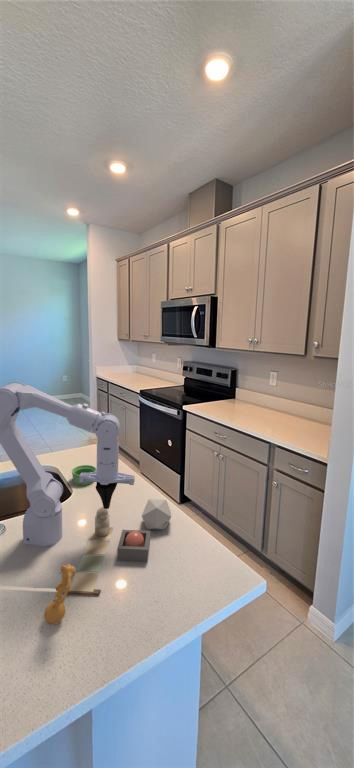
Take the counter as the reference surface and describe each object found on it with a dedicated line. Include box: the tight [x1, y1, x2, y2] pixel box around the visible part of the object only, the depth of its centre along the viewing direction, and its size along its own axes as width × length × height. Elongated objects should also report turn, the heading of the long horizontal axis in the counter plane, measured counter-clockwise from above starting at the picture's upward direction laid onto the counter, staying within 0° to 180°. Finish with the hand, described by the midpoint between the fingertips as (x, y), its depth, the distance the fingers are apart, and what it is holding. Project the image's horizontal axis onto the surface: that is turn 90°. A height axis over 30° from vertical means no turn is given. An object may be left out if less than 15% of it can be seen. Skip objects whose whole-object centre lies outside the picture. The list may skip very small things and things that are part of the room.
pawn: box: [94, 506, 111, 537], centre depth 92 cm, size 4×4×8 cm
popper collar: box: [116, 529, 151, 563], centre depth 86 cm, size 8×8×4 cm
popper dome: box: [125, 531, 145, 547], centre depth 85 cm, size 5×5×5 cm
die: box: [141, 498, 172, 530], centre depth 97 cm, size 8×9×10 cm
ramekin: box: [71, 464, 97, 486], centre depth 124 cm, size 9×9×4 cm
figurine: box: [43, 563, 77, 625], centre depth 65 cm, size 8×6×12 cm
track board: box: [62, 526, 114, 597], centre depth 84 cm, size 8×24×1 cm, turn 0°
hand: (106, 506), depth 90 cm, fingers closed
